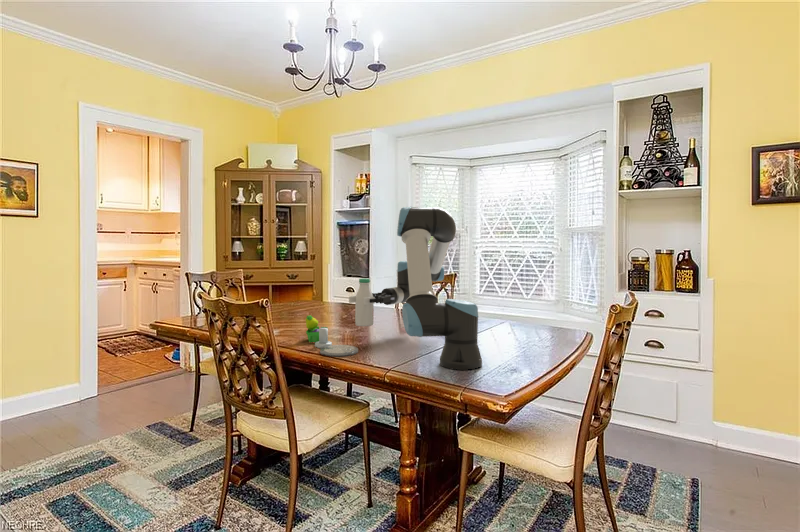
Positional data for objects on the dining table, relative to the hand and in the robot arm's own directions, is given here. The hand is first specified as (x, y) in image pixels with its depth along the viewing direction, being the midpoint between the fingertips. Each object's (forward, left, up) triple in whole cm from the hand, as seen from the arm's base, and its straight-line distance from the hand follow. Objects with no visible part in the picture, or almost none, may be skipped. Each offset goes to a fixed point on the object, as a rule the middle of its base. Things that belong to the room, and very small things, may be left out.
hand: (356, 300), depth 190 cm
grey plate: (-6, +10, -19) cm, 23 cm away
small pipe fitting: (+6, +12, -19) cm, 24 cm away
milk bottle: (+2, -5, -11) cm, 12 cm away
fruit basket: (+18, +11, -19) cm, 29 cm away
